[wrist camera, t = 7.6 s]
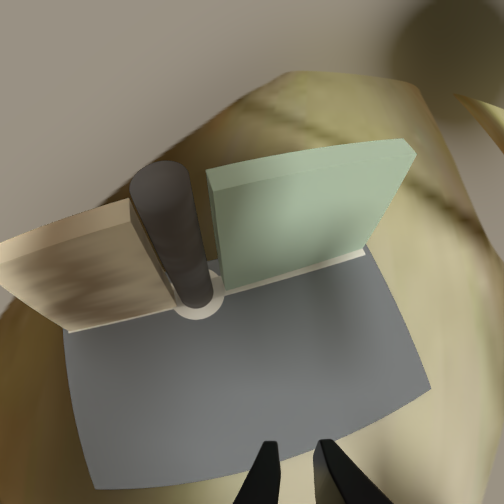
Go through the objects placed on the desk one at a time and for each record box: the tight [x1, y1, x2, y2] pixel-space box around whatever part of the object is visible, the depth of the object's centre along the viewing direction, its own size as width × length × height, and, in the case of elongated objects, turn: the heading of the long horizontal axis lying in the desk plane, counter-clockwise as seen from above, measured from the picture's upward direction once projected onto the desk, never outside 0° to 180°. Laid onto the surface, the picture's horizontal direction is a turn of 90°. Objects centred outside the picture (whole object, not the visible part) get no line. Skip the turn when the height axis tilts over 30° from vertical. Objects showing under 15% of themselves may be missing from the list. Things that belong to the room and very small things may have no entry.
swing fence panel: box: [206, 138, 417, 291], centre depth 15 cm, size 10×1×9 cm, turn 109°
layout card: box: [63, 244, 431, 489], centre depth 17 cm, size 22×14×1 cm, turn 107°
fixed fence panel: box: [0, 161, 214, 331], centre depth 13 cm, size 10×2×10 cm, turn 107°
